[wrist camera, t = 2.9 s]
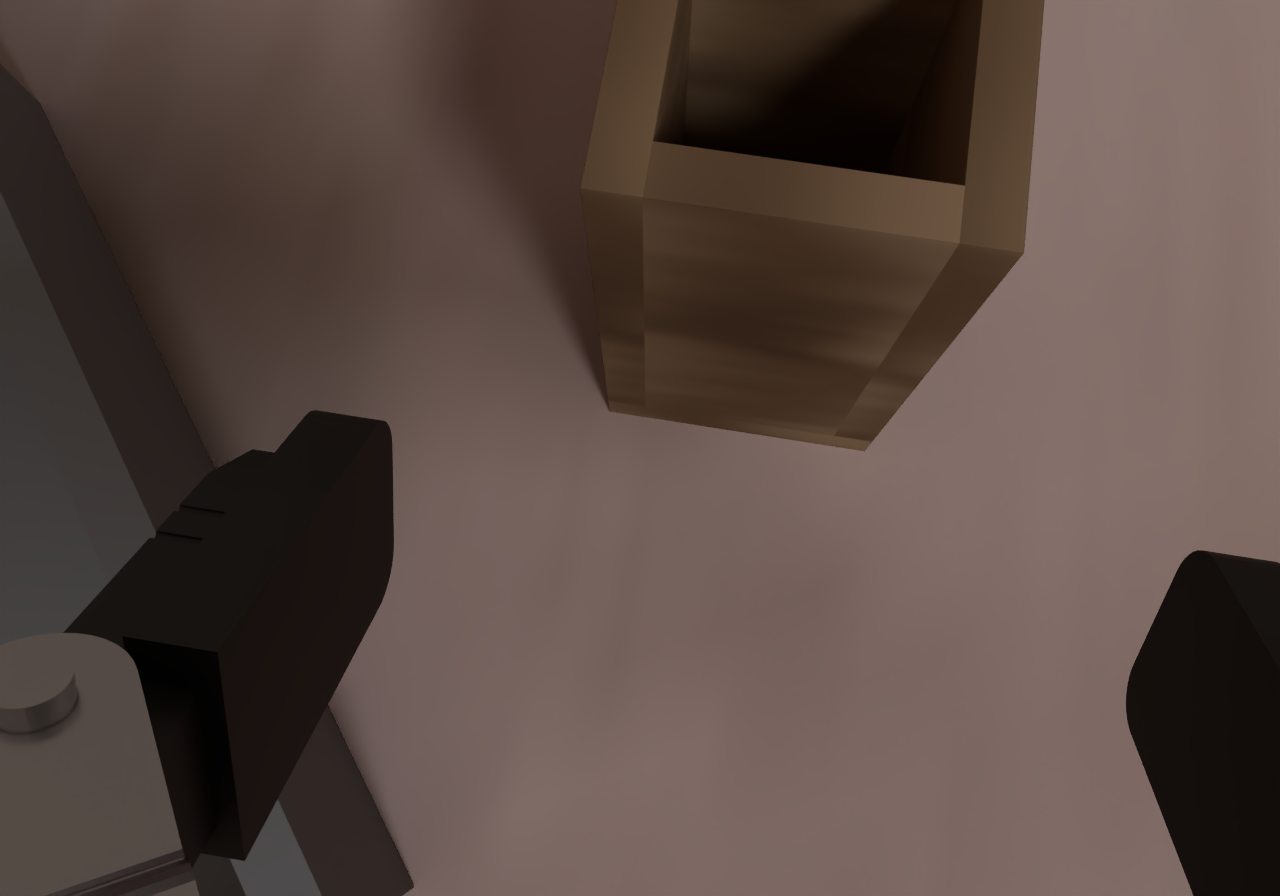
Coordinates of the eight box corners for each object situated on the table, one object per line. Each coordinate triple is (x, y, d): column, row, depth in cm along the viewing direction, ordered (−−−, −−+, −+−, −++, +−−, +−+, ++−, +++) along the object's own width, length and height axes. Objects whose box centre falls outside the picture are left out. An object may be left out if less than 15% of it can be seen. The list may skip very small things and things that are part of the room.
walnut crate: (891, 217, 24) (1053, -119, 14) (864, 451, 23) (1024, 253, 13) (650, 182, 24) (651, -171, 15) (609, 411, 23) (580, 188, 13)
